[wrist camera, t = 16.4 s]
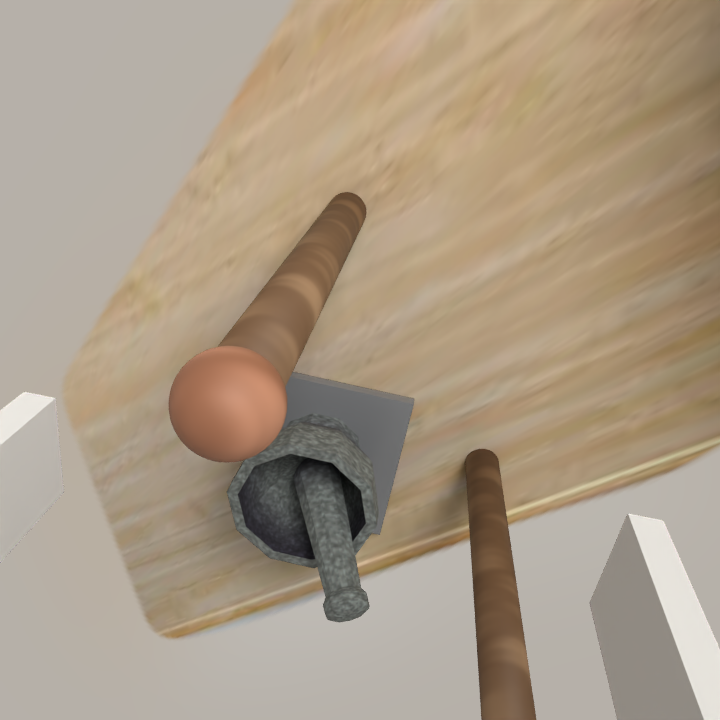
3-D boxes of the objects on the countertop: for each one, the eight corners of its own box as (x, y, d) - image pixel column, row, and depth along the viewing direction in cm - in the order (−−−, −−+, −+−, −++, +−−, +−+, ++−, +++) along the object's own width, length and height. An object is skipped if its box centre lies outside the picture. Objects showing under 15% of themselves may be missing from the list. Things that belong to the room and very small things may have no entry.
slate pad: (414, 398, 45) (413, 404, 44) (380, 527, 50) (379, 534, 49) (263, 365, 45) (260, 370, 44) (245, 497, 50) (242, 503, 50)
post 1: (377, 191, 39) (279, 393, 15) (367, 241, 40) (264, 497, 17) (326, 180, 39) (151, 365, 15) (318, 231, 40) (146, 471, 17)
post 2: (509, 449, 46) (584, 868, 22) (497, 484, 47) (555, 913, 23) (466, 440, 46) (494, 847, 22) (455, 475, 47) (470, 893, 23)
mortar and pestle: (230, 439, 47) (168, 551, 36) (317, 366, 44) (277, 466, 33) (334, 534, 50) (305, 664, 39) (424, 472, 46) (419, 596, 36)
